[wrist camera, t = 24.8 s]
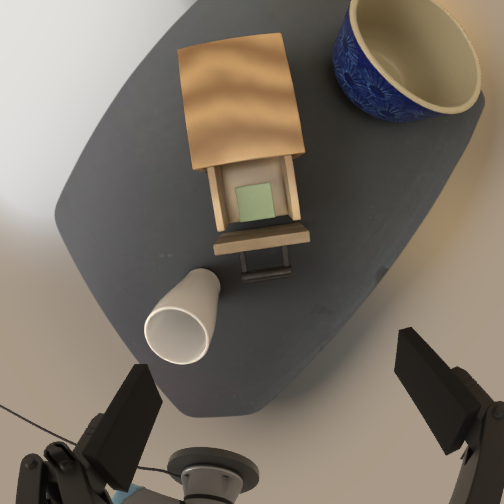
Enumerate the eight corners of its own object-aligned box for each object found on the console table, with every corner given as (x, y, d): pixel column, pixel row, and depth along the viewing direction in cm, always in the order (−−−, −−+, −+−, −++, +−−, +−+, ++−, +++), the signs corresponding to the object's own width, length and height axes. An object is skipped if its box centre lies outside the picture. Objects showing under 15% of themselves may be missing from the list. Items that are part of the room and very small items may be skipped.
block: (242, 218, 36) (240, 222, 32) (237, 187, 35) (234, 187, 31) (273, 213, 36) (275, 217, 32) (268, 182, 35) (270, 182, 31)
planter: (350, 148, 35) (403, 130, 21) (298, 45, 32) (318, -15, 17) (436, 119, 34) (500, 102, 19) (390, 28, 30) (433, -16, 15)
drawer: (304, 263, 38) (314, 280, 31) (228, 274, 39) (222, 294, 32) (285, 130, 34) (292, 117, 27) (206, 142, 35) (194, 132, 28)
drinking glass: (173, 269, 40) (132, 313, 25) (217, 256, 39) (195, 298, 25) (189, 310, 41) (159, 369, 27) (232, 300, 41) (219, 359, 26)
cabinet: (294, 159, 36) (305, 152, 27) (207, 173, 37) (192, 169, 28) (276, 62, 33) (281, 32, 24) (193, 76, 33) (177, 49, 25)
